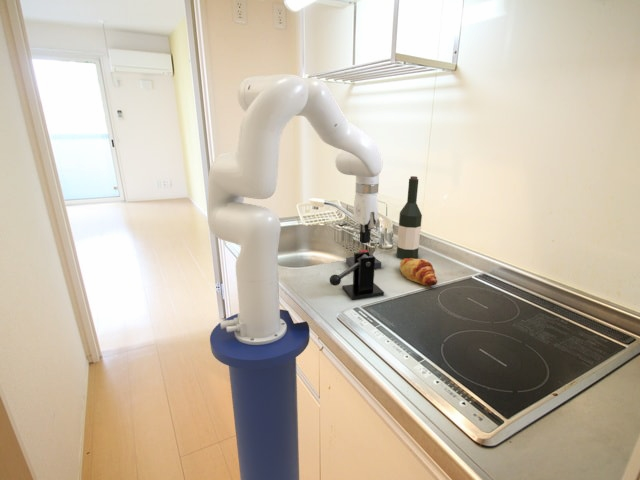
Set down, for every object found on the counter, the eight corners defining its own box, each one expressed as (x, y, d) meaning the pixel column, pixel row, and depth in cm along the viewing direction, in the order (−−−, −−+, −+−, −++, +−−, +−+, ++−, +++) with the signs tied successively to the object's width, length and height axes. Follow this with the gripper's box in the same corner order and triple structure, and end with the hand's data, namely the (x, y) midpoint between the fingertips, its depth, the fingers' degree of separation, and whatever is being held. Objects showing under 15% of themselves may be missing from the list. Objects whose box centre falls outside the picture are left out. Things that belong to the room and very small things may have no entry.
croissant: (394, 275, 129) (385, 258, 125) (417, 261, 130) (409, 242, 126) (426, 300, 110) (417, 280, 106) (452, 282, 111) (445, 262, 108)
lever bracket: (352, 300, 102) (353, 261, 98) (342, 289, 109) (343, 252, 105) (383, 295, 105) (386, 257, 101) (372, 285, 112) (374, 248, 108)
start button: (361, 258, 124) (361, 253, 124) (356, 255, 127) (357, 250, 127) (370, 257, 125) (370, 252, 125) (366, 254, 129) (366, 249, 128)
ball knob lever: (334, 289, 101) (329, 281, 100) (331, 285, 104) (326, 276, 103) (372, 264, 103) (368, 255, 102) (368, 260, 106) (363, 252, 104)
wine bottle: (420, 255, 140) (428, 176, 130) (414, 261, 133) (422, 179, 123) (399, 251, 143) (406, 174, 133) (393, 258, 136) (399, 177, 126)
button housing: (354, 271, 122) (354, 260, 121) (346, 263, 129) (346, 253, 128) (381, 268, 126) (381, 257, 125) (371, 260, 133) (371, 250, 132)
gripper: (347, 185, 123) (346, 237, 130) (365, 193, 110) (363, 250, 117) (367, 184, 126) (365, 235, 133) (387, 192, 113) (384, 247, 120)
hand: (364, 242), depth 125 cm, fingers closed
